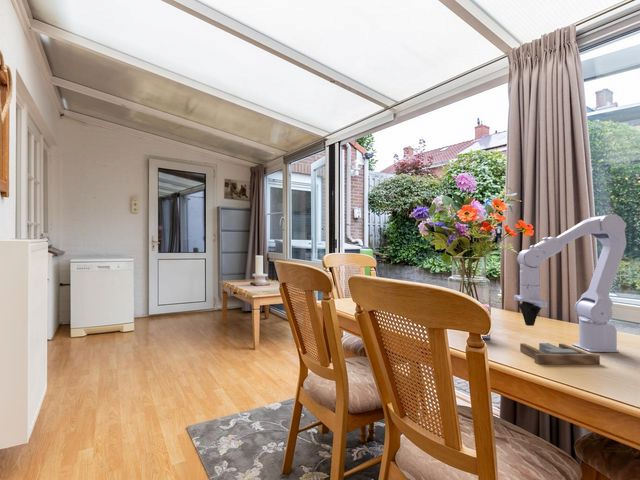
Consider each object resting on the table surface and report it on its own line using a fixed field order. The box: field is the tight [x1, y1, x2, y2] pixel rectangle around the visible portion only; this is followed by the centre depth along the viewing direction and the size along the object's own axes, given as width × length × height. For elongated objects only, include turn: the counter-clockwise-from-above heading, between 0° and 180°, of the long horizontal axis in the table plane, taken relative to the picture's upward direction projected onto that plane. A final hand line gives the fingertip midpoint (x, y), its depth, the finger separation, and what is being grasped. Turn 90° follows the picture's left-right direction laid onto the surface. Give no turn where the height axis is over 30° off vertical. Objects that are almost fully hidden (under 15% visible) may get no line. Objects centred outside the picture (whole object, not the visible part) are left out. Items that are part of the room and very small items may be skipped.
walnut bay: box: [519, 342, 601, 365], centre depth 103 cm, size 18×12×2 cm, turn 91°
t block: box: [538, 342, 578, 354], centre depth 104 cm, size 8×9×3 cm
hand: (529, 325), depth 115 cm, fingers closed
